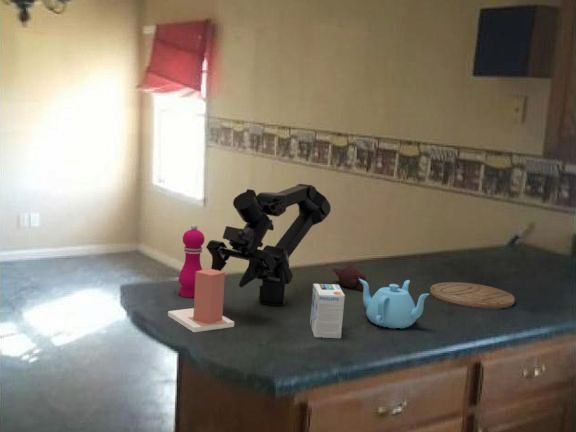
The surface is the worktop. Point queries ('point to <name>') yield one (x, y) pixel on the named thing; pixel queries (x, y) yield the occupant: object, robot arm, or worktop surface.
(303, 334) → the worktop surface
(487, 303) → the trivet
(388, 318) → the teapot
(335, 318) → the light bulb box
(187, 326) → the board
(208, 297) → the block
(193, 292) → the pepper mill
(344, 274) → the maroon lumpy piece
